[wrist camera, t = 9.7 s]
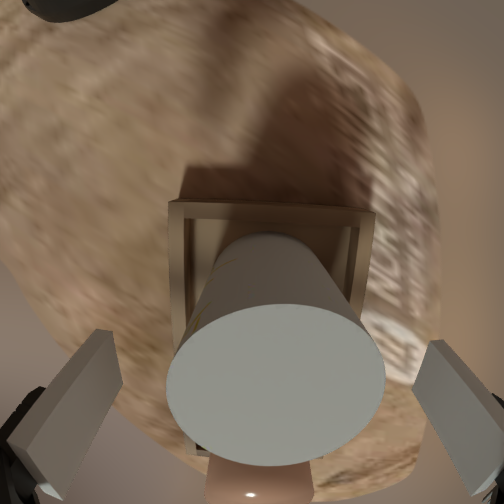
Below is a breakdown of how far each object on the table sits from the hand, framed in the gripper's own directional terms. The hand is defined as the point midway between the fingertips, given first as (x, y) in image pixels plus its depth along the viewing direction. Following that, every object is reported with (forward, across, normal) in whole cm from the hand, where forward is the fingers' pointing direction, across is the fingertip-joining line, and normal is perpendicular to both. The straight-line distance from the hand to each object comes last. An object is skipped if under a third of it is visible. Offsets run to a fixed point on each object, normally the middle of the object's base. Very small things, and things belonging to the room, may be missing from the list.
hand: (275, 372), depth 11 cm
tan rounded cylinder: (+10, 0, -12) cm, 16 cm away
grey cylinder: (+11, 0, -1) cm, 11 cm away
